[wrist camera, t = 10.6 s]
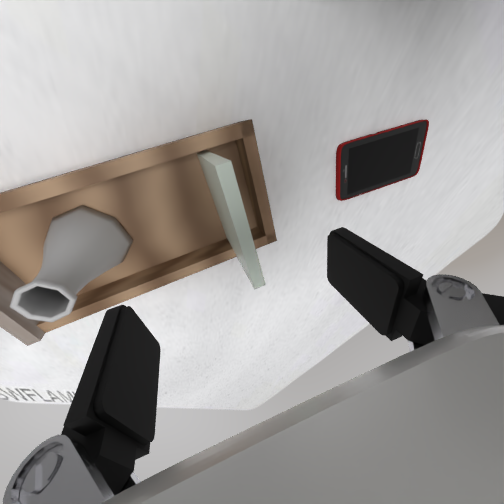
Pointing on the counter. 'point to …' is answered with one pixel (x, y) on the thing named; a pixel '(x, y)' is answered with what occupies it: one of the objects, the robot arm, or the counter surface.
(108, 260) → the flask
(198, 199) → the wooden rimmed tray
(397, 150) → the cell phone
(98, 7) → the counter surface
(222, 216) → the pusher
